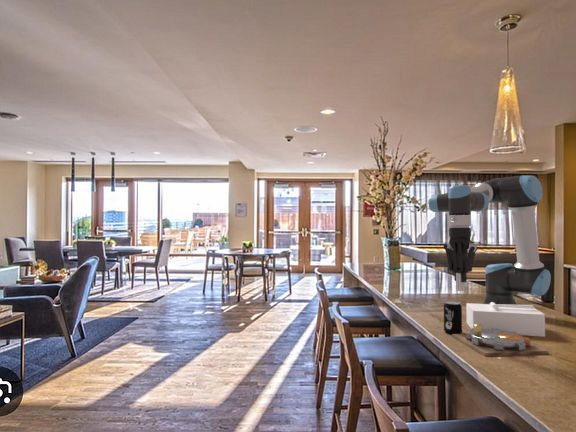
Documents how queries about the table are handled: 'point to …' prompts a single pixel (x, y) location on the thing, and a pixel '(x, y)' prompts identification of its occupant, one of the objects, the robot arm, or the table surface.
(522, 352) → the board
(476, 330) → the sprocket
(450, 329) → the beverage can
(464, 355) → the table surface
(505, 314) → the tissue box
